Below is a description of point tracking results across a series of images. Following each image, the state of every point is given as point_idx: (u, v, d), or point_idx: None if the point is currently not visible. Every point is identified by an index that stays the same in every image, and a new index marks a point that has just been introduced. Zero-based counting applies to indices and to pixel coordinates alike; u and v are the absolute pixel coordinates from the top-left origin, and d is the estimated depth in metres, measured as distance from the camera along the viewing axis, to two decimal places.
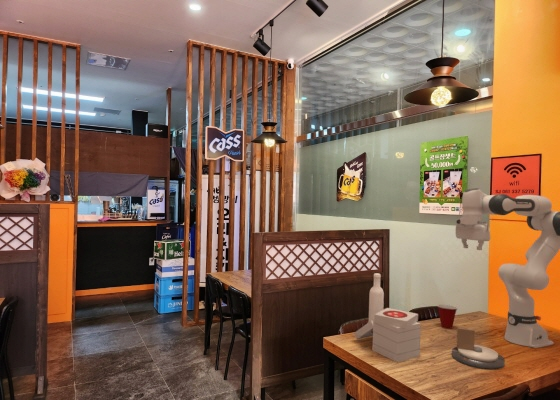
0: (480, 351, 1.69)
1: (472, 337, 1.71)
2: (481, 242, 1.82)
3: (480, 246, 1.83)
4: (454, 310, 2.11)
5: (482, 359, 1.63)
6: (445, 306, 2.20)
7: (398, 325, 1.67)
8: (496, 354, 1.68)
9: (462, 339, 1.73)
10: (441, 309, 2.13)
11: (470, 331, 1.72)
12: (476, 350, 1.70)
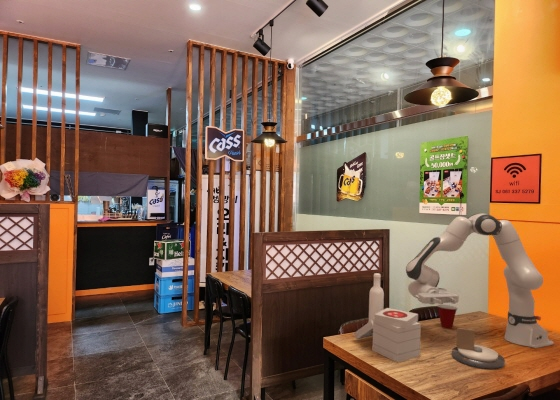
0: (480, 351, 1.69)
1: (472, 337, 1.71)
2: (433, 301, 1.86)
3: (437, 301, 1.84)
4: (454, 310, 2.11)
5: (482, 359, 1.63)
6: (445, 306, 2.20)
7: (398, 325, 1.67)
8: (496, 354, 1.68)
9: (462, 339, 1.73)
10: (441, 309, 2.13)
11: (470, 331, 1.72)
12: (476, 350, 1.70)
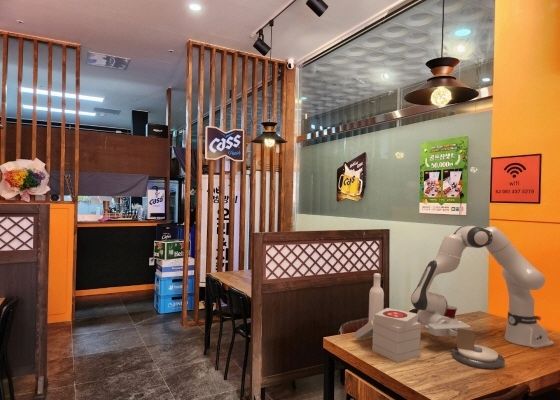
0: (480, 351, 1.69)
1: (472, 337, 1.71)
2: (450, 332, 1.78)
3: (454, 333, 1.76)
4: (454, 310, 2.11)
5: (482, 359, 1.63)
6: None
7: (398, 325, 1.67)
8: (496, 354, 1.68)
9: (462, 339, 1.73)
10: None
11: (470, 331, 1.72)
12: (476, 350, 1.70)
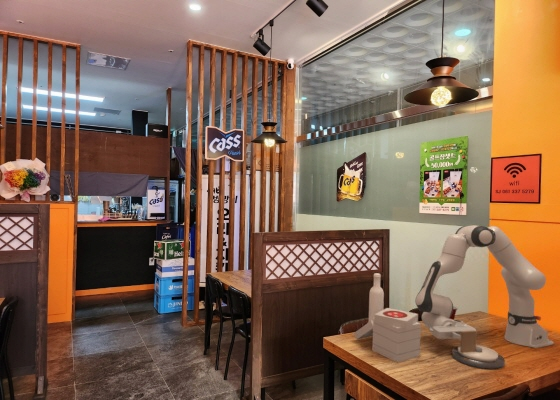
0: (481, 351, 1.70)
1: (474, 338, 1.70)
2: (453, 336, 1.74)
3: (458, 337, 1.72)
4: (454, 310, 2.11)
5: (493, 359, 1.64)
6: None
7: (398, 325, 1.67)
8: (493, 350, 1.72)
9: (466, 342, 1.69)
10: None
11: (473, 332, 1.70)
12: (479, 350, 1.69)
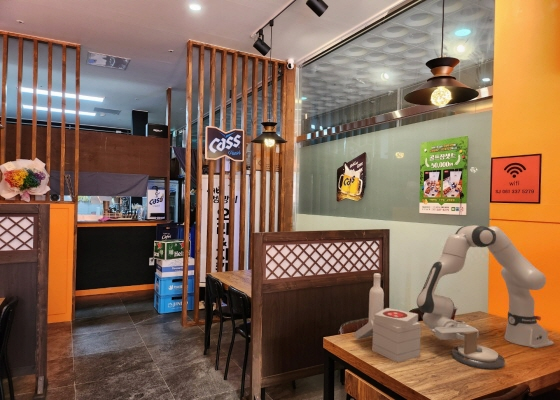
0: (482, 350, 1.70)
1: (475, 339, 1.70)
2: (457, 336, 1.73)
3: (461, 338, 1.71)
4: (454, 310, 2.11)
5: (496, 358, 1.65)
6: None
7: (398, 325, 1.67)
8: (489, 349, 1.74)
9: (469, 343, 1.68)
10: None
11: (474, 333, 1.69)
12: (480, 351, 1.69)
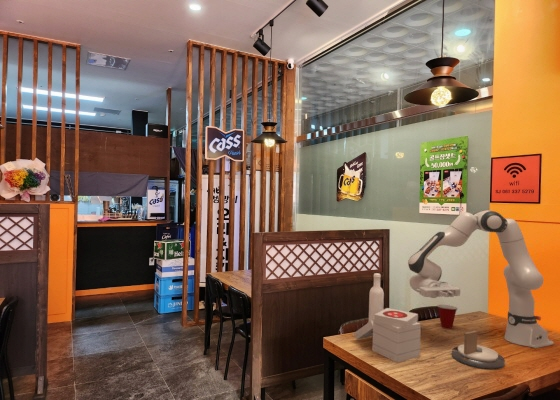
0: (482, 350, 1.70)
1: (475, 339, 1.70)
2: (439, 294, 1.86)
3: (443, 294, 1.84)
4: (454, 310, 2.11)
5: (496, 358, 1.65)
6: (445, 306, 2.20)
7: (398, 325, 1.67)
8: (489, 349, 1.74)
9: (469, 343, 1.68)
10: (441, 309, 2.13)
11: (474, 333, 1.69)
12: (480, 351, 1.69)
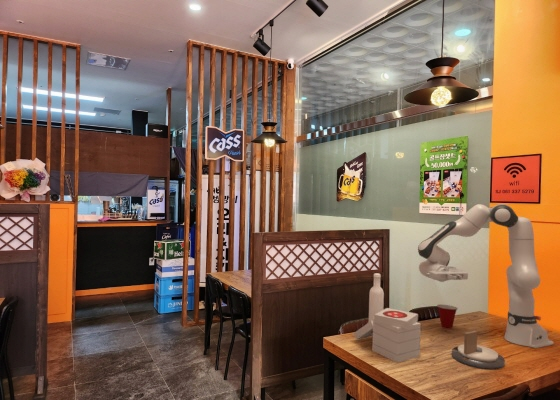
0: (482, 350, 1.70)
1: (475, 339, 1.70)
2: (448, 277, 1.96)
3: (452, 277, 1.94)
4: (454, 310, 2.11)
5: (496, 358, 1.65)
6: (445, 306, 2.20)
7: (398, 325, 1.67)
8: (489, 349, 1.74)
9: (469, 343, 1.68)
10: (441, 309, 2.13)
11: (474, 333, 1.69)
12: (480, 351, 1.69)
